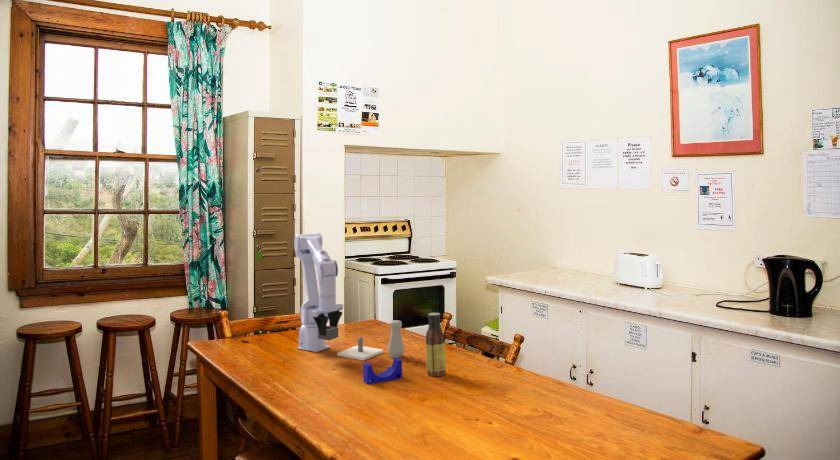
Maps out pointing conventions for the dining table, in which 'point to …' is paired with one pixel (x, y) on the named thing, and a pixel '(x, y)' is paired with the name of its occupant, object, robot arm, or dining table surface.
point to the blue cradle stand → (386, 375)
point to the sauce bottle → (435, 347)
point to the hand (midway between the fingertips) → (328, 333)
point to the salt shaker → (396, 340)
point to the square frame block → (329, 333)
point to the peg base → (360, 351)
